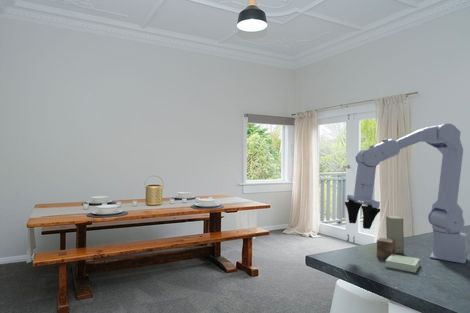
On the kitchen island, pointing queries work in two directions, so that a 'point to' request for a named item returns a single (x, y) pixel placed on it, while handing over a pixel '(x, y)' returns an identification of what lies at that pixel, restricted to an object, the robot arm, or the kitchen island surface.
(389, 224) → the skincare box
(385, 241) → the walnut block
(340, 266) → the kitchen island surface
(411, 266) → the base slab
